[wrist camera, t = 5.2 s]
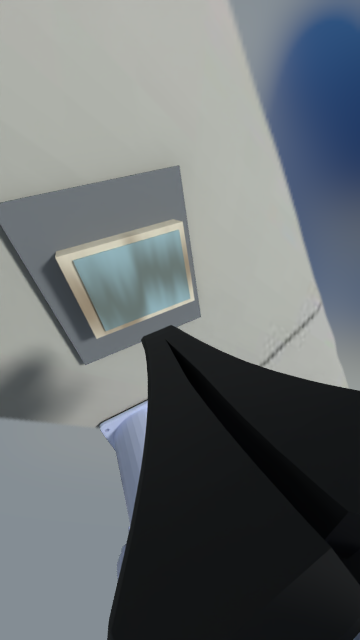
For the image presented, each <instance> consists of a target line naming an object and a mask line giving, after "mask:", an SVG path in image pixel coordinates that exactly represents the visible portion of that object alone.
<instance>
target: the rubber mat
mask: <svg viewBox="0 0 360 640" xmlns="http://www.w3.org/2000/svg"><path fill="white" fill-rule="evenodd" d="M172 219H174V220H178V221H182V222H183V227H184V234H185V240H186V247H187V253H188V260H189V266H190V273H191V279H192V286H193V292H194V299H195V300H194V301H192V302H189V303H187V304H184V305H182V306H179V307H177V308H174V309H172V310H169V311H166V312H164V313H161V314H159V315H156V316H154V317H151V318H149V319H146V320H144V321H141V322H138V323H136V324H133V325H131V326H128V327H126V328H123V329H121V330H118V331H116V332H113V333H110V334H108V335H105V336H103V337H100V338H98V339H96V337H95V335H94V333H93V331H92V329H91V327H90V325H89V323H88V321H87V319H86V317H85V315H84V313H83V311H82V309H81V307H80V305H79V303H78V301H77V299H76V298H75V296H74V294H73V292H72V290H71V288H70V286H69V284H68V282H67V280H66V278H65V276H64V274H63V272H62V270H61V268H60V266H59V264H58V262H57V260H56V258H55V255H56V251H60V250H63V249H67V248H71V247H74V246H78V245H81V244H85V243H89V242H92V241H96V240H99V239H103V238H107V237H110V236H114V235H118V234H121V233H125V232H128V231H132V230H136V229H139V228H143V227H147V226H150V225H154V224H157V223H161V222H165V221H168V220H172ZM0 225H1V226H2V228H3V230H4V231H5V233H6V235H7V236H8V238H9V240H10V241H11V243H12V245H13V246H14V248H15V249H16V251H17V253H18V254H19V256H20V258H21V259H22V261H23V263H24V264H25V266H26V268H27V269H28V271H29V273H30V274H31V276H32V278H33V279H34V281H35V283H36V284H37V286H38V288H39V289H40V291H41V293H42V294H43V296H44V297H45V299H46V301H47V302H48V304H49V306H50V307H51V309H52V311H53V312H54V314H55V316H56V317H57V319H58V321H59V322H60V324H61V326H62V327H63V329H64V331H65V332H66V334H67V336H68V337H69V339H70V341H71V342H72V344H73V345H74V347H75V349H76V350H77V352H78V354H79V355H80V357H81V359H82V360H83V362H84V364H85V365H87V364H89V363H92V362H94V361H97V360H99V359H101V358H104V357H106V356H108V355H111V354H113V353H116V352H118V351H120V350H123V349H125V348H128V347H130V346H132V345H135V344H137V343H140V342H142V341H141V339H142V337H143V336H146V335H148V334H150V333H153V332H155V331H158V330H160V329H163V328H165V327H167V326H170V325H173V326H175V327H178V326H180V325H183V324H185V323H187V322H190V321H192V320H195V319H197V318H199V317H201V314H200V307H199V300H198V293H197V286H196V279H195V272H194V265H193V258H192V251H191V244H190V237H189V230H188V223H187V216H186V209H185V202H184V195H183V188H182V181H181V174H180V167H179V165H178V166H174V167H169V168H164V169H159V170H154V171H150V172H145V173H140V174H135V175H130V176H126V177H121V178H116V179H111V180H106V181H102V182H97V183H92V184H87V185H82V186H78V187H73V188H68V189H63V190H58V191H54V192H49V193H44V194H39V195H34V196H30V197H25V198H20V199H15V200H10V201H6V202H1V203H0Z"/></svg>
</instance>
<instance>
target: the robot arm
mask: <svg viewBox="0 0 360 640" xmlns="http://www.w3.org/2000/svg"><path fill="white" fill-rule="evenodd" d="M141 341H142V344H143V347H144V350H145V354H146V361H147V373H148V400H147V401H145V402H143V403H141V404H139V405H137V406H135V407H133V408H131V409H129V410H127V411H125V412H123V413H121V414H119V415H117V416H115V417H113V418H111V419H109V420H107V421H105V422H103V423H101V424H100V430H101V432H102V433H103V435H104V436H105V437H106V439H107V440H108V441H109V443H110V444H111V445H112V447H113V448H114V450H115V451H116V454H117V459H118V464H119V469H120V475H121V480H122V485H123V490H124V495H125V500H126V505H127V511H128V516H129V521H130V526H129V527H128V530H129V535H128V540H127V544H125V545H124V546H123V547H122V551H121V554H120V556H119V559H118V562H117V576H118V583H117V587H116V592H115V596H114V600H113V605H112V609H111V614H110V618H109V625H108V638H107V640H360V391H357V390H352V389H347V388H342V387H337V386H332V385H327V384H323V383H318V382H314V381H310V380H306V379H302V378H298V377H294V376H291V375H287V374H283V373H279V372H276V371H273V370H269V369H266V368H263V367H260V366H258V365H255V364H252V363H249V362H246V361H243V360H241V359H238V358H236V357H234V356H231V355H229V354H227V353H224V352H222V351H220V350H218V349H216V348H214V347H212V346H210V345H208V344H206V343H204V342H202V341H200V340H198V339H196V338H194V337H192V336H190V335H189V334H187V333H185V332H183V331H182V330H180V329H178V328H177V327H175V326H173V325H170V326H167V327H165V328H163V329H160V330H158V331H155V332H153V333H150V334H148V335H146V336H143V337H142V339H141Z"/></svg>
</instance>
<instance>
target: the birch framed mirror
mask: <svg viewBox="0 0 360 640" xmlns="http://www.w3.org/2000/svg"><path fill="white" fill-rule="evenodd" d="M55 258H56V260H57V262H58V264H59V266H60V268H61V270H62V272H63V274H64V276H65V278H66V280H67V282H68V284H69V286H70V288H71V290H72V292H73V294H74V296H75V298H76V299H77V301H78V303H79V305H80V307H81V309H82V311H83V313H84V315H85V317H86V319H87V321H88V323H89V325H90V327H91V329H92V331H93V333H94V335H95V337H96V339H98V338H100V337H103V336H105V335H108V334H110V333H113V332H116V331H118V330H121V329H123V328H126V327H128V326H131V325H133V324H136V323H138V322H141V321H144V320H146V319H149V318H151V317H154V316H156V315H159V314H161V313H164V312H166V311H169V310H172V309H174V308H177V307H179V306H182V305H184V304H187V303H189V302H192V301H194V300H195V299H194V292H193V286H192V279H191V273H190V266H189V260H188V253H187V247H186V240H185V234H184V227H183V222H182V221H178V220H174V219H172V220H168V221H165V222H161V223H157V224H154V225H150V226H147V227H143V228H139V229H136V230H132V231H128V232H125V233H121V234H118V235H114V236H110V237H107V238H103V239H99V240H96V241H92V242H89V243H85V244H81V245H78V246H74V247H71V248H67V249H63V250H60V251H56V255H55Z"/></svg>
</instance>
